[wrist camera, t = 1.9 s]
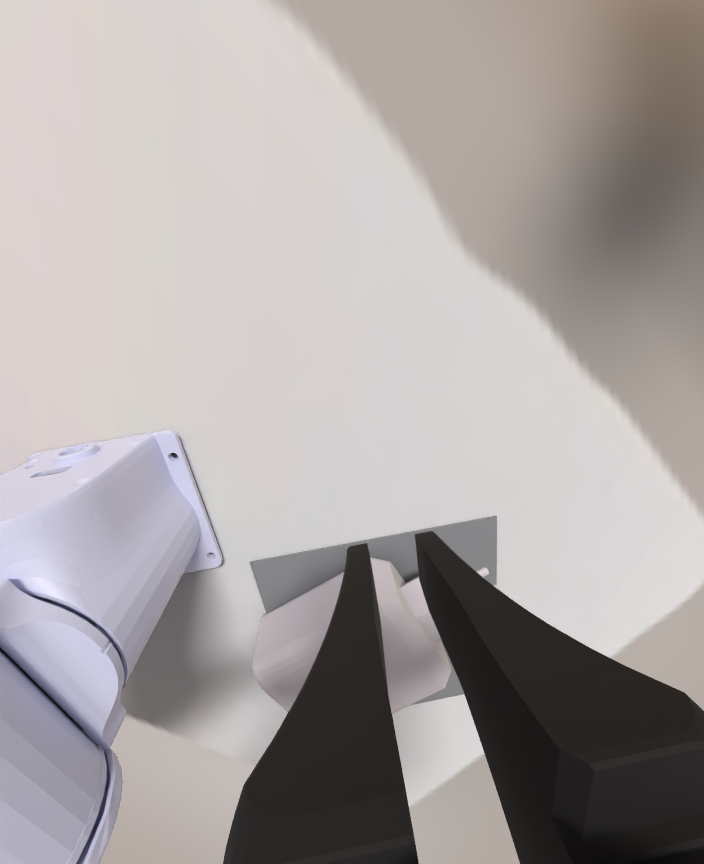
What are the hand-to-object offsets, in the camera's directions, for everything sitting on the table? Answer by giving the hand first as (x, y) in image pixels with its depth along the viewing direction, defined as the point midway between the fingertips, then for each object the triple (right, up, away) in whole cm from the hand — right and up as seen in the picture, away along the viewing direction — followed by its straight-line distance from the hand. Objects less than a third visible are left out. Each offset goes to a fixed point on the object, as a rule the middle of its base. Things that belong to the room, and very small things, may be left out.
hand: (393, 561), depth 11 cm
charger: (+1, -8, +13) cm, 15 cm away
